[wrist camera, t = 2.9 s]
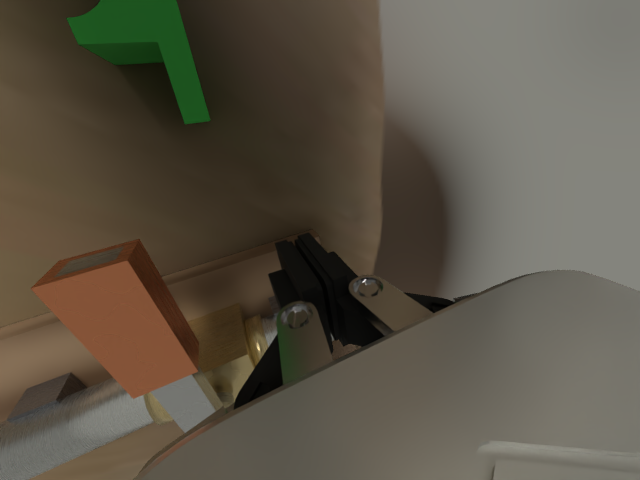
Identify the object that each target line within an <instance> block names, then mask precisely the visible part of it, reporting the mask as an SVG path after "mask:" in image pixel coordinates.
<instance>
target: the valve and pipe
mask: <svg viewBox="0 0 640 480" xmlns="http://www.w3.org/2000/svg"><path fill="white" fill-rule="evenodd" d="M268 299H269V302H270V305H271V309H272V312H273V315H270V316H268V317H265V318H263V319H261V316H260V314H259V315H256V316H254V317H251V318H248V319H245V317H244V314H243V312H242V309H241V307H240V304H239V303H236V304H233V305H231V306H228V307H225V308H223V309H220V310H217V311H214V312H212V313H209V314H206V315H204V316H201V317H198V318H195V319H193V320H190V321H187V322H188V324H189V326H190V328H191V329H192V331H193V333H194V335H195V336H196V338H197V340H198V341H199V360H198V365H199V367H200V368H201V370H202V372H203V373H204V375H205V377H206V378H207V380H208V381H209V383H210V385H211V386H212V388H213V389H214V391H215V393H219V392H229V393H231V394H232V395H233V396H234V402H235V399H236V397H237V395H238V393H239V391H240V390H241V388H242V387H243V385H244V384H245V382H246V381H247V379H248V378H249V376H250V374H251V373H252V371H253V370H254V368H255V367H256V365H257V364H258V362H259V361H260V359H261V358H262V356H263V355H264V353H265V352H266V350H267V349H268V347H269V346H270V344H271V343H272V341H273V339H274V338H275V336H276V335H277V324H276V319H277V315H278V313H279V311H280V309H279V307H278V304H277V301H276V298H275V296H272V297H269V298H268ZM331 338H332V341H334V338H333V336H332V335H331ZM172 421H174V419H173V418H172V417H171V416H170V415H169V413H168V412H167V411H166V410H165V409H164V408H163V406H162V405H161V404H160V403H159V402H158V400H157V399H156V398H155V397H154V396H153V395H152V393H151V392H149V393H146V394H144V395H142V396H139V397H137V398H135V399H133V398H132V397H131V396H130V395H129V394H128V393H127V392H126V391H125V389H124V388H123V387H122V386H121V385H120V384H119V383H118V382H117V381H116V380H115V379H114V378H111V379H109V380H106V381H104V382H101V383H99V384H96V385H94V386H91V387H88V388H87V387H86V386H85V385H84V384H83V383H82V382H81V381H80V380H79V379H78V378H77V377H76V376H74V375H73V374H72V373H71V372H70V373H67V374H64V375H62V376H59V377H56V378H54V379H51V380H48V381H46V382H43V383H40V384H38V385H35V386H32V387H30V388H27V389H26V391H25V392H24V394H23V395H22V397H21V398H20V400H19V401H18V403H17V404H16V406H15V407H14V409H13V410H12V412H11V413H10V415H9V416H8V418H7V419H6V420H5V421H3V422H0V480H28V479H30V478H33V477H35V476H37V475H39V474H41V473H44V472H46V471H48V470H50V469H52V468H55V467H57V466H59V465H61V464H63V463H66V462H68V461H70V460H72V459H74V458H77V457H79V456H81V455H83V454H85V453H88V452H90V451H92V450H94V449H96V448H99V447H101V446H103V445H105V444H107V443H110V442H112V441H114V440H116V439H118V438H121V437H123V436H125V435H127V434H129V433H132V432H134V431H136V430H138V429H140V428H143V427H145V426H147V425H149V424H151V423H154V422H155V423H157V424H158V425H165V424H167V423H170V422H172Z"/></svg>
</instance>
